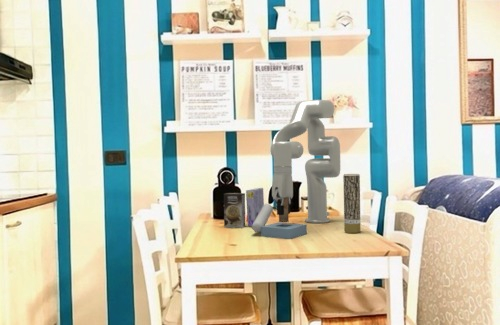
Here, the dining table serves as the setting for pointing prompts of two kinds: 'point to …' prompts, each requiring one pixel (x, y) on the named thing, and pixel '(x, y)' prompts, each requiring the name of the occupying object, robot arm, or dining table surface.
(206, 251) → the dining table surface
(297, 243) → the dining table surface
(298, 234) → the socket
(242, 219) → the coffee box
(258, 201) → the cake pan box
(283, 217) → the peg
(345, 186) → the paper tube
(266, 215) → the tube
